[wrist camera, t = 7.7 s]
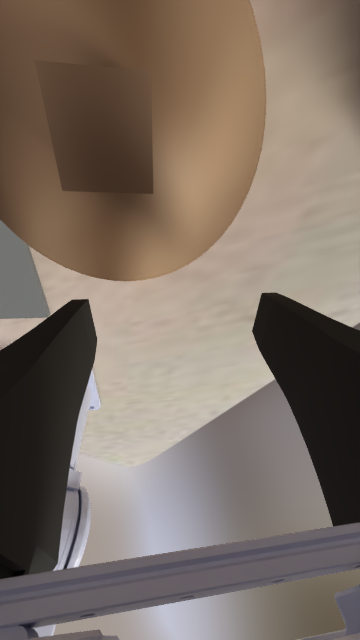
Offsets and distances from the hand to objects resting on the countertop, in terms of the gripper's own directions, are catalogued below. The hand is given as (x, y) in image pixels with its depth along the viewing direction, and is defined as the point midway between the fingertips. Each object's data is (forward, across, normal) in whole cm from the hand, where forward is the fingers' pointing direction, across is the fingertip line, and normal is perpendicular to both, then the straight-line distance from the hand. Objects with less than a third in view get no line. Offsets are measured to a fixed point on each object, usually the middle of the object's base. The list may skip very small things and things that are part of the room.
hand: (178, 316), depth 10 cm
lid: (+5, +2, -6) cm, 8 cm away
